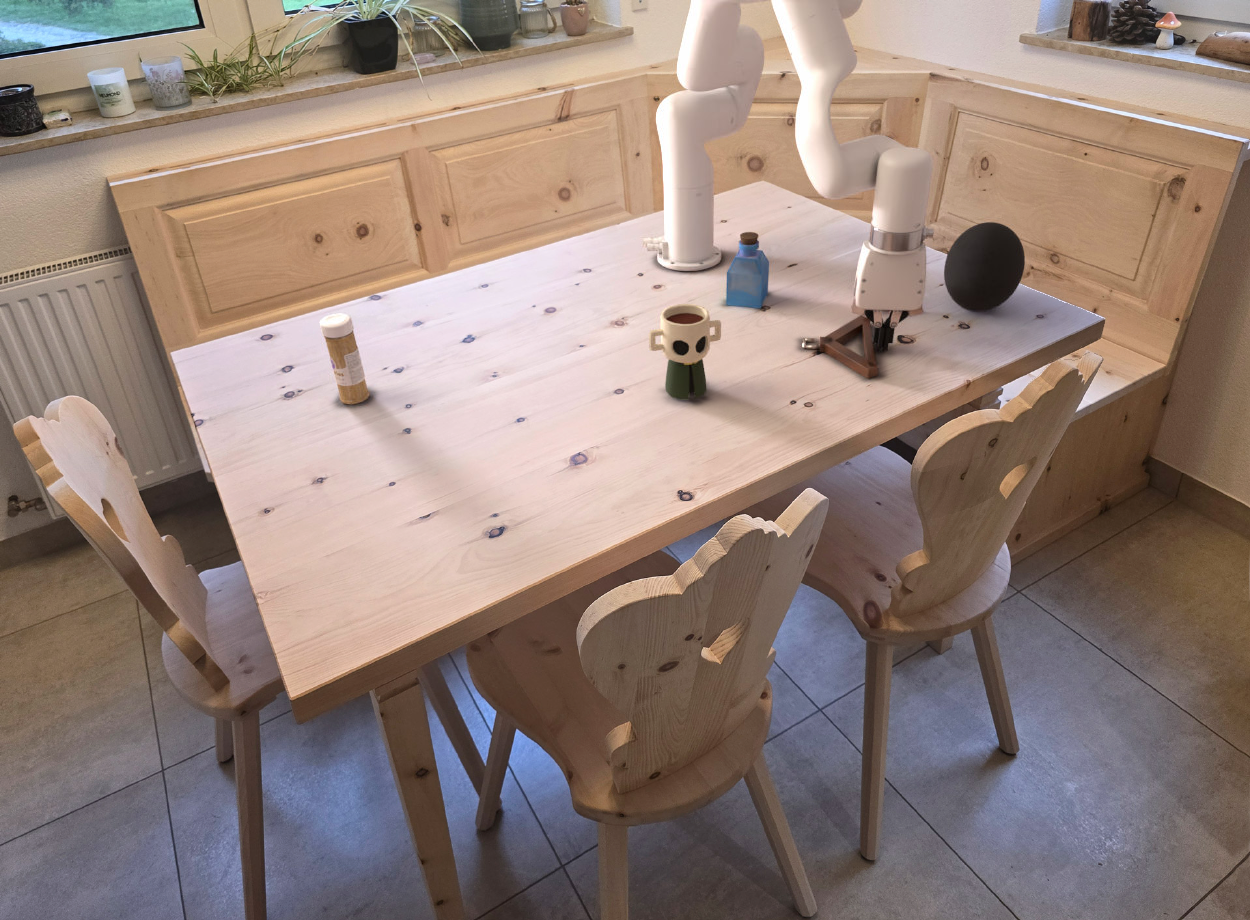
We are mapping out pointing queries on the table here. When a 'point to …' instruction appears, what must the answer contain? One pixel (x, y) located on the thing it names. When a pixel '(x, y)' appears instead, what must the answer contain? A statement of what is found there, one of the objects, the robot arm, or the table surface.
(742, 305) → the perfume bottle
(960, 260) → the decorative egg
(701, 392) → the character mug
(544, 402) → the table surface
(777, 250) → the table surface
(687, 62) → the robot arm
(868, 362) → the hanger
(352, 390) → the sprinkles bottle
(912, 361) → the table surface
